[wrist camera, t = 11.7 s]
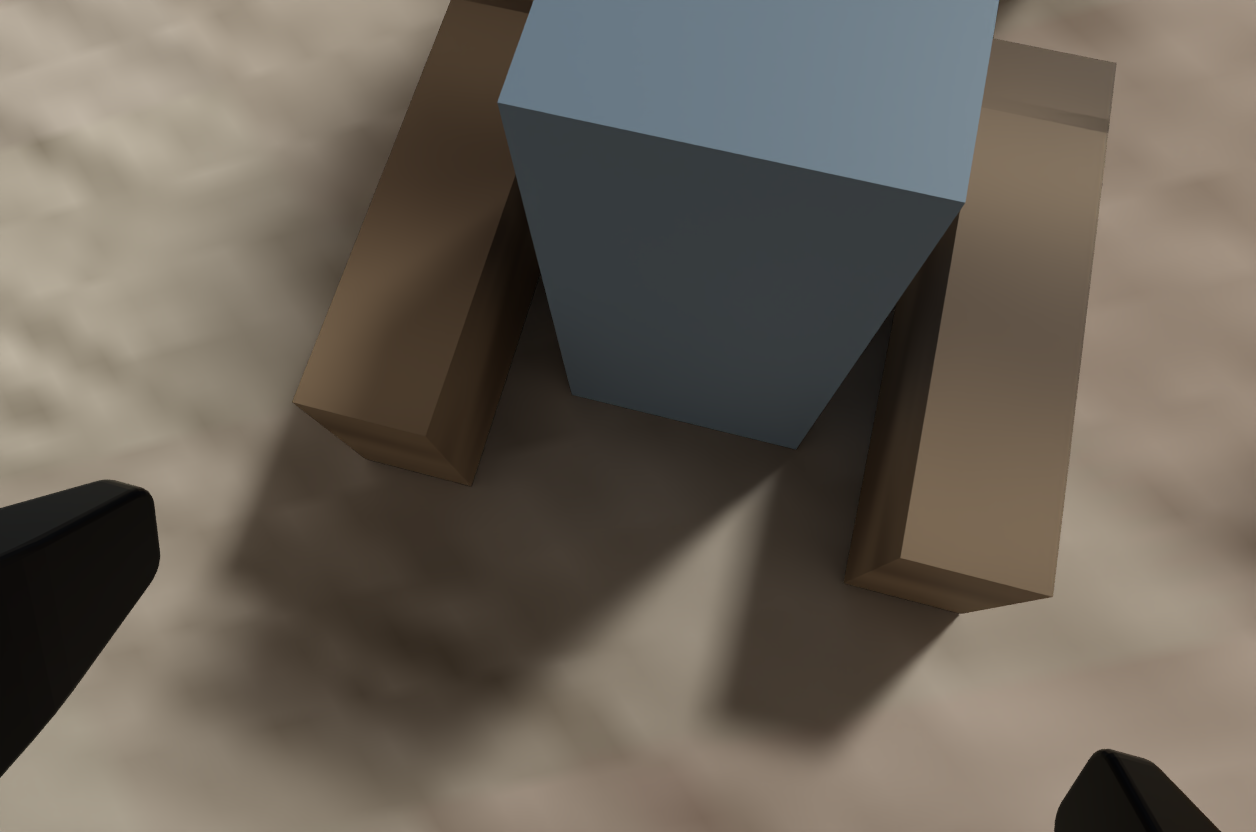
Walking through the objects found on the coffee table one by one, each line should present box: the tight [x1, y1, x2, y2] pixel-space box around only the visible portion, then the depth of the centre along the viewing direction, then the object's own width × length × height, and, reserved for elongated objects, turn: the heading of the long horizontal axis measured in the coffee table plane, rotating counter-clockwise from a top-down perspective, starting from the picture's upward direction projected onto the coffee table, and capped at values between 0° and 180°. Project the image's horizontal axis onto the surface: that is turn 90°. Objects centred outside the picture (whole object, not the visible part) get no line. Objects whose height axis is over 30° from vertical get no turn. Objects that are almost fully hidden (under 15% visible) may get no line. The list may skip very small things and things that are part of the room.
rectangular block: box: [497, 0, 999, 449], centre depth 14 cm, size 4×5×10 cm
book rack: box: [292, 0, 1116, 614], centre depth 17 cm, size 10×13×4 cm
